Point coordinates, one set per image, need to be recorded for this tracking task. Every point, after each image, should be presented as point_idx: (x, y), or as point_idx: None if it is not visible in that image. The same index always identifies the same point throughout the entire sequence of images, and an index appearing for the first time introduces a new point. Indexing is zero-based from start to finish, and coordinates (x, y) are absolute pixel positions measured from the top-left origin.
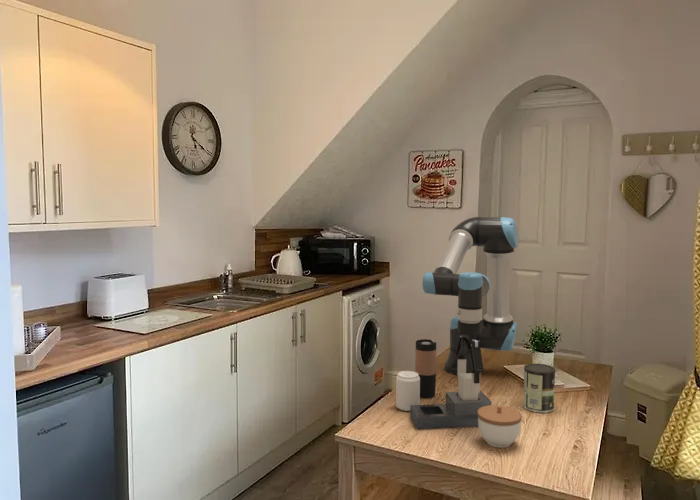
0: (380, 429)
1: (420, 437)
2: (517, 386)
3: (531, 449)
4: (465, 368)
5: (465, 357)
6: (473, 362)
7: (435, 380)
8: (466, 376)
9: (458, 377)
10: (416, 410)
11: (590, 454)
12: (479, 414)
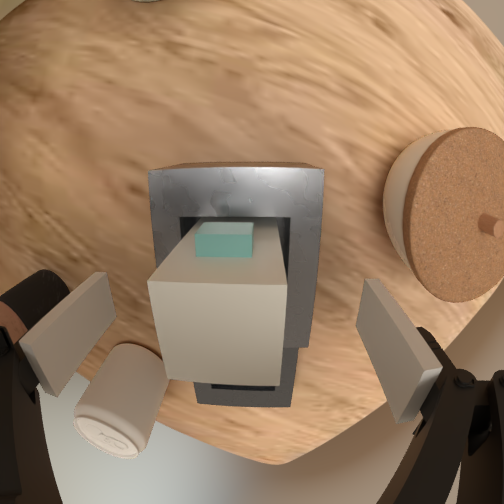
0: (270, 431)
1: (332, 381)
2: (22, 19)
3: (465, 127)
4: (71, 309)
5: (6, 343)
6: (460, 485)
7: (24, 295)
8: (233, 358)
9: (113, 319)
10: (238, 400)
11: (479, 21)
12: (463, 301)
